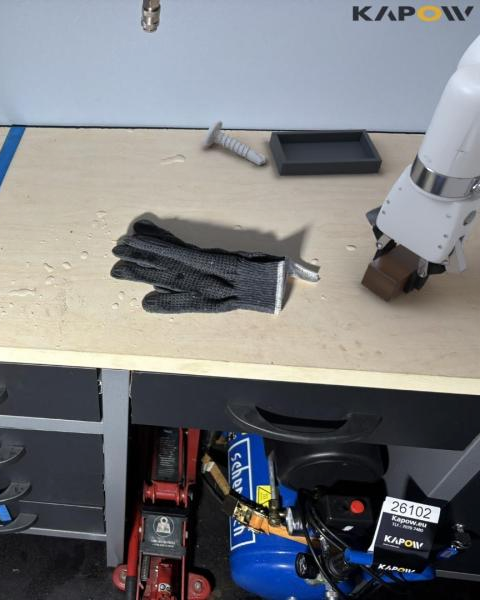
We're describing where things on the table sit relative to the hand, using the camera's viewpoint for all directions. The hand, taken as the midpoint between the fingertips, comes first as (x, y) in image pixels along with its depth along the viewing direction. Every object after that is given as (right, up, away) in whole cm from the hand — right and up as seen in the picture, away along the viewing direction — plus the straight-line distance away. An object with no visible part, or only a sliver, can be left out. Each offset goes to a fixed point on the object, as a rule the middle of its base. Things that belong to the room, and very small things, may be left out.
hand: (395, 277), depth 85 cm
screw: (-17, +23, +24) cm, 37 cm away
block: (0, 0, 0) cm, 0 cm away
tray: (-2, +22, +22) cm, 31 cm away
